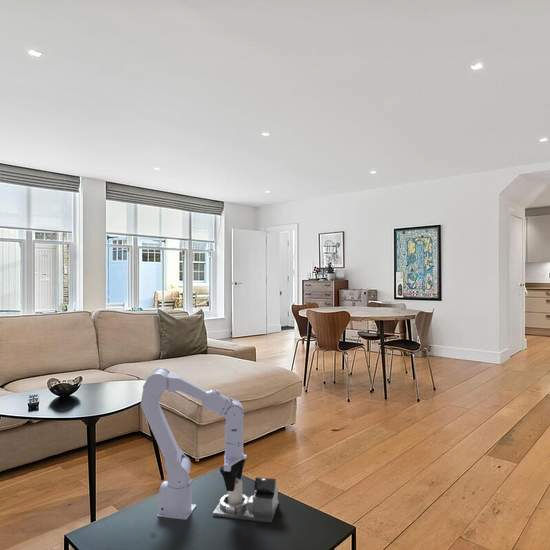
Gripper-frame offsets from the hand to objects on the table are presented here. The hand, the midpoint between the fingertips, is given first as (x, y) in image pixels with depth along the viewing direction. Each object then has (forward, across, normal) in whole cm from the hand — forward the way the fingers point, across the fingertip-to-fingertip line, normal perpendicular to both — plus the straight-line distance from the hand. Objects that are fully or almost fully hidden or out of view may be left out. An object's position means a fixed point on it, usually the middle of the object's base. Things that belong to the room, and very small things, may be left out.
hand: (233, 484), depth 133 cm
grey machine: (+7, 0, -4) cm, 8 cm away
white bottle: (+6, 0, 0) cm, 6 cm away
